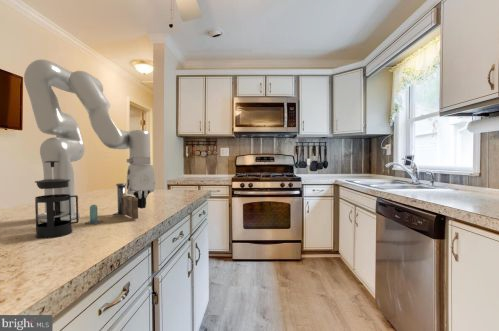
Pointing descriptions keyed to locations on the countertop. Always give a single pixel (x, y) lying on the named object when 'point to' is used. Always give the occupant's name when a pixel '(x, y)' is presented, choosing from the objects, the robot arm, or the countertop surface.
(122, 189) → the gate post
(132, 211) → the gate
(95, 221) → the latch post
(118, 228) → the countertop surface
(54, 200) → the french press
